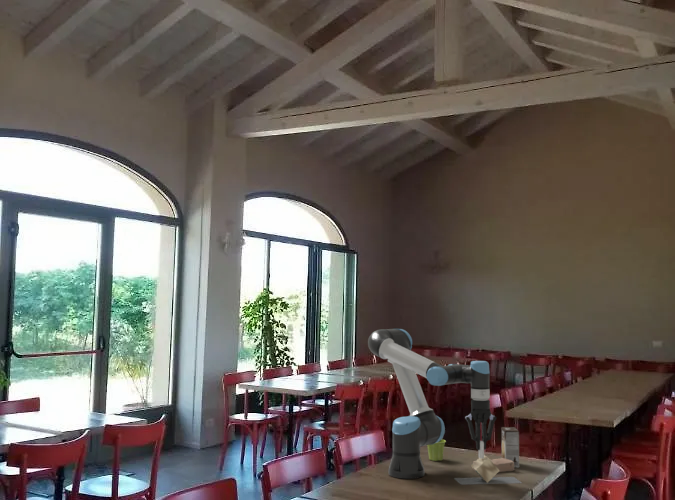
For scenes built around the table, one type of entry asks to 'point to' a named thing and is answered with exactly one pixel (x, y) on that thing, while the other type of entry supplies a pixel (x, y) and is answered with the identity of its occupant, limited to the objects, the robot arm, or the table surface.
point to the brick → (503, 464)
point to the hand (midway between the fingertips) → (481, 457)
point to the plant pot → (436, 450)
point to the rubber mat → (493, 481)
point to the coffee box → (510, 444)
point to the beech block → (485, 468)
